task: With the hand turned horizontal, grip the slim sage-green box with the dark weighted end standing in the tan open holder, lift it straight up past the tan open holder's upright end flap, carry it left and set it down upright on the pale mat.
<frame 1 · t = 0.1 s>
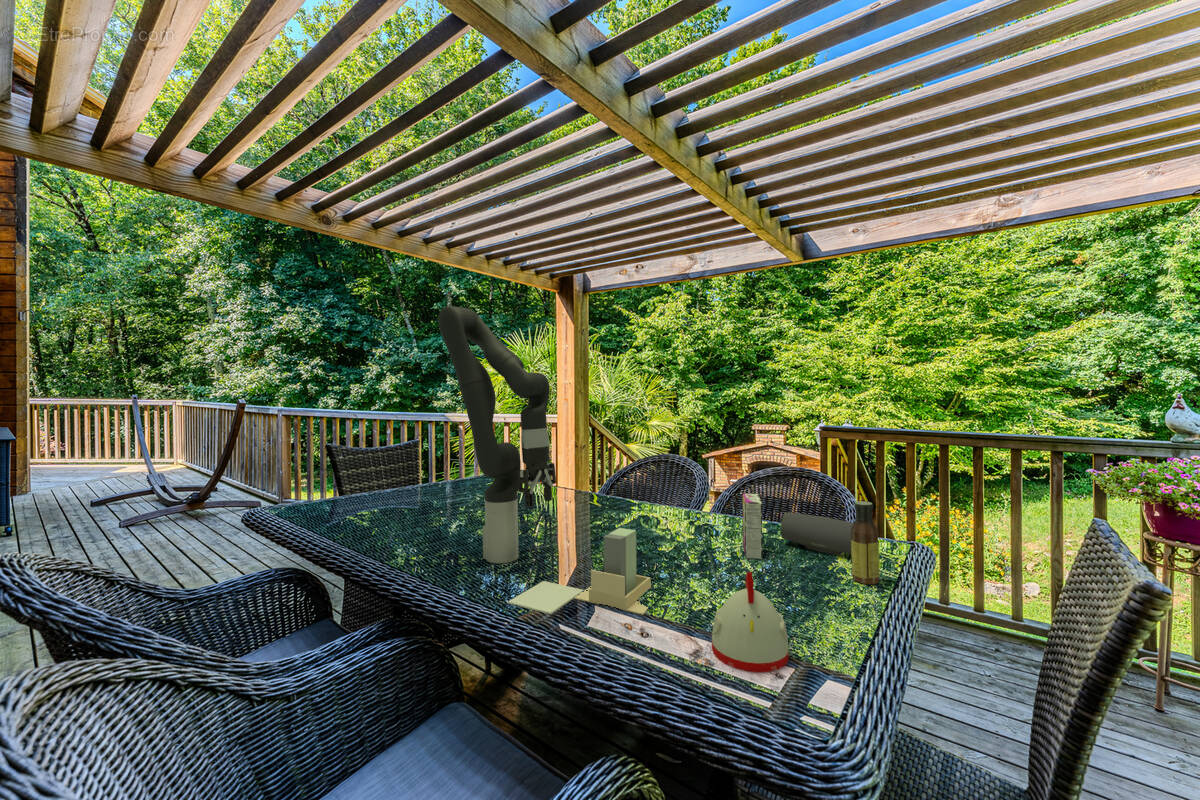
hand: (539, 504, 145), 17 cm above the table, tool pointing down, fingers open, 8 cm apart
tan open holder: (620, 595, 125), on the table
candy bar box: (751, 553, 154), on the table
slim sage box: (620, 595, 125), resting in tan open holder
bluetooth speaker: (823, 551, 156), on the table
sauce bottle: (864, 581, 133), on the table
mat: (546, 597, 125), on the table
kitchen timer: (749, 653, 99), on the table
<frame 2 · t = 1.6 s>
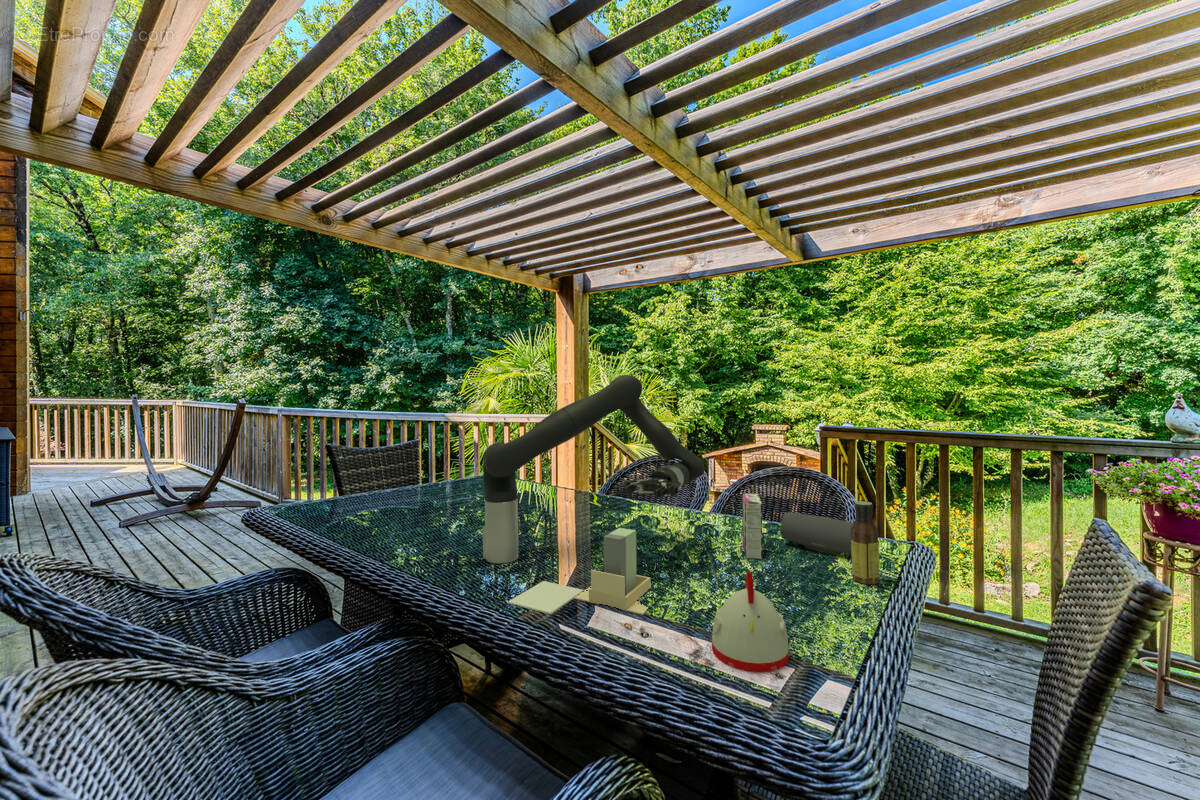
hand: (641, 492, 134), 22 cm above the table, tool horizontal, fingers open, 8 cm apart
nothing on the table moved.
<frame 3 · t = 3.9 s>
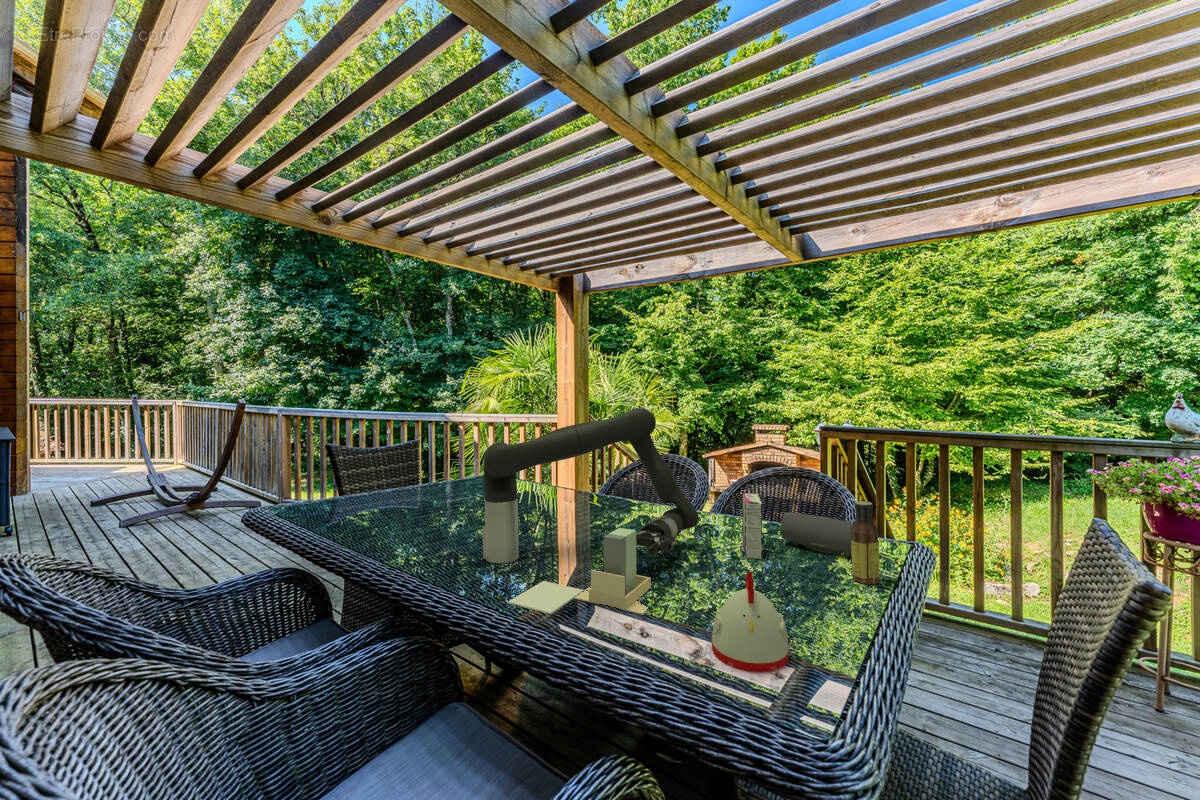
hand: (634, 549, 131), 9 cm above the table, tool horizontal, fingers open, 8 cm apart
nothing on the table moved.
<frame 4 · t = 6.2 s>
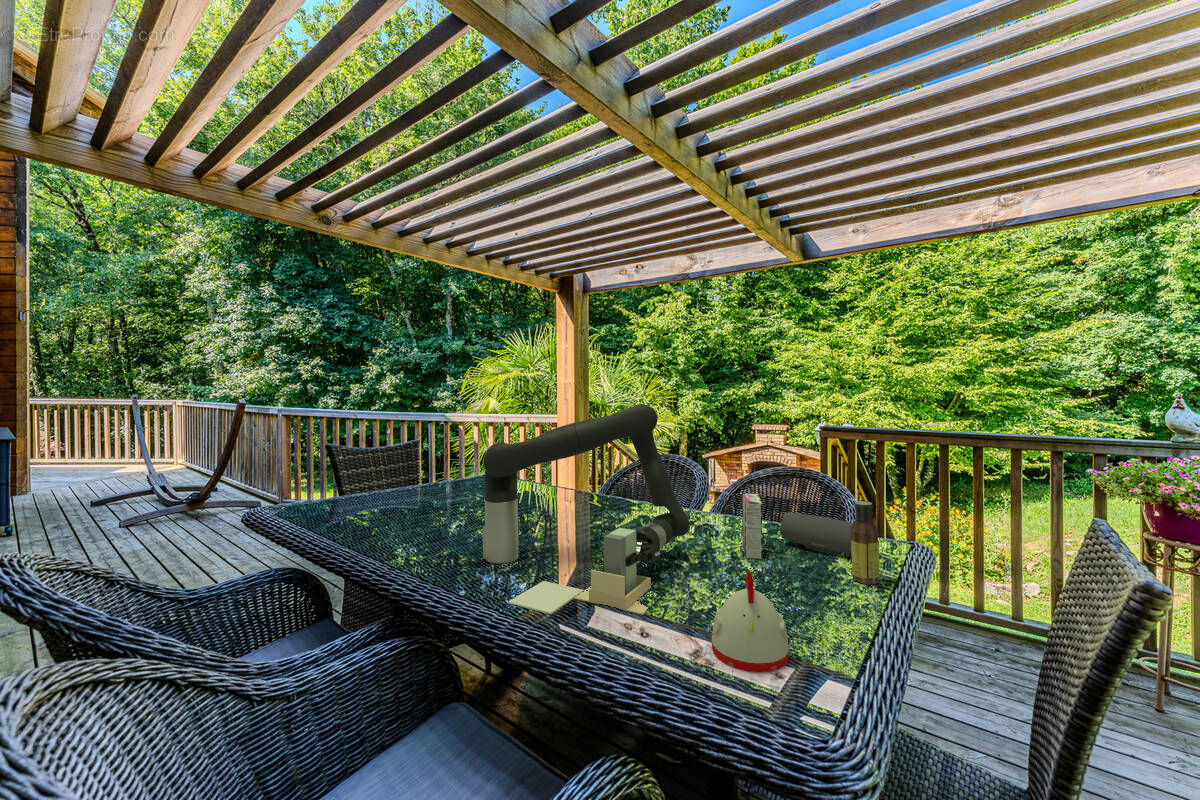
hand: (617, 560, 123), 9 cm above the table, tool horizontal, fingers closed on slim sage box, 4 cm apart
slim sage box: (620, 595, 125), resting in tan open holder, touching gripper
everything else where it was.
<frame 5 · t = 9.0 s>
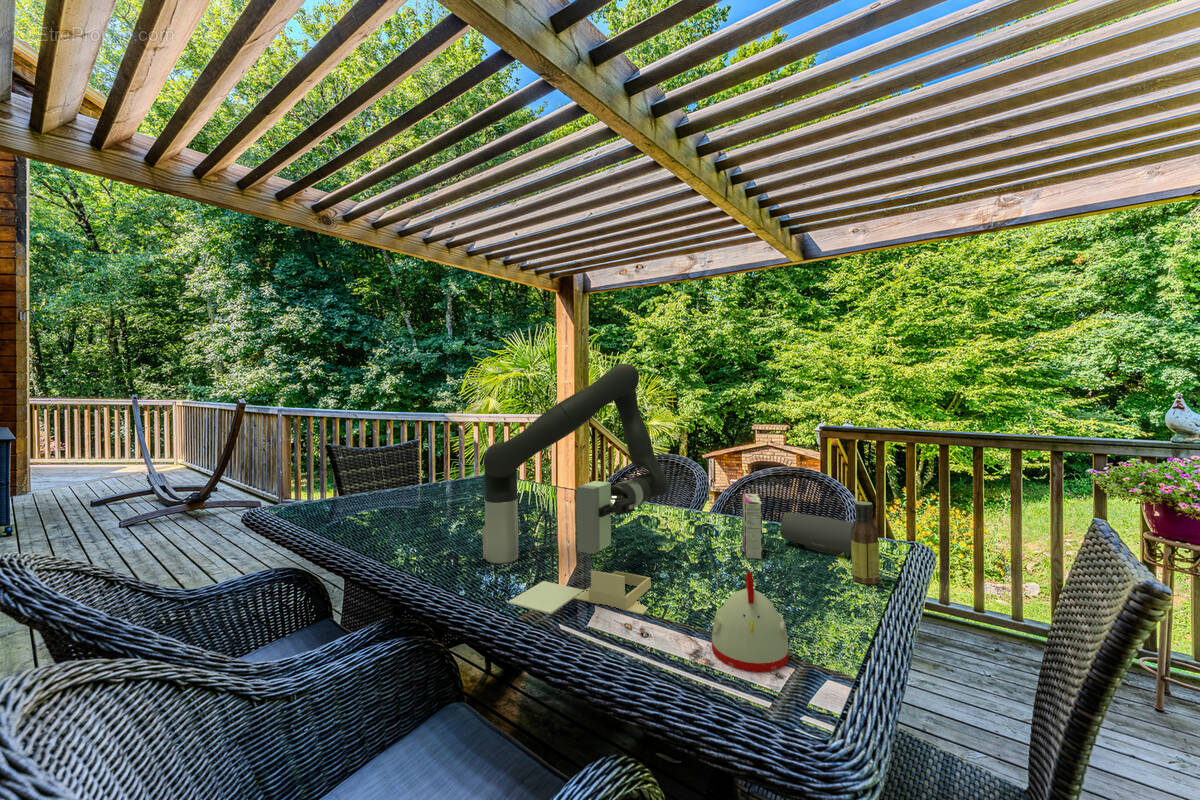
hand: (590, 511, 123), 21 cm above the table, tool horizontal, fingers closed on slim sage box, 4 cm apart
slim sage box: (594, 547, 125), point 12 cm above the table, touching gripper
everything else where it was.
when the fingers open (10 cm above the table, at t = 12.2 s): slim sage box stays where it is, resting on mat.
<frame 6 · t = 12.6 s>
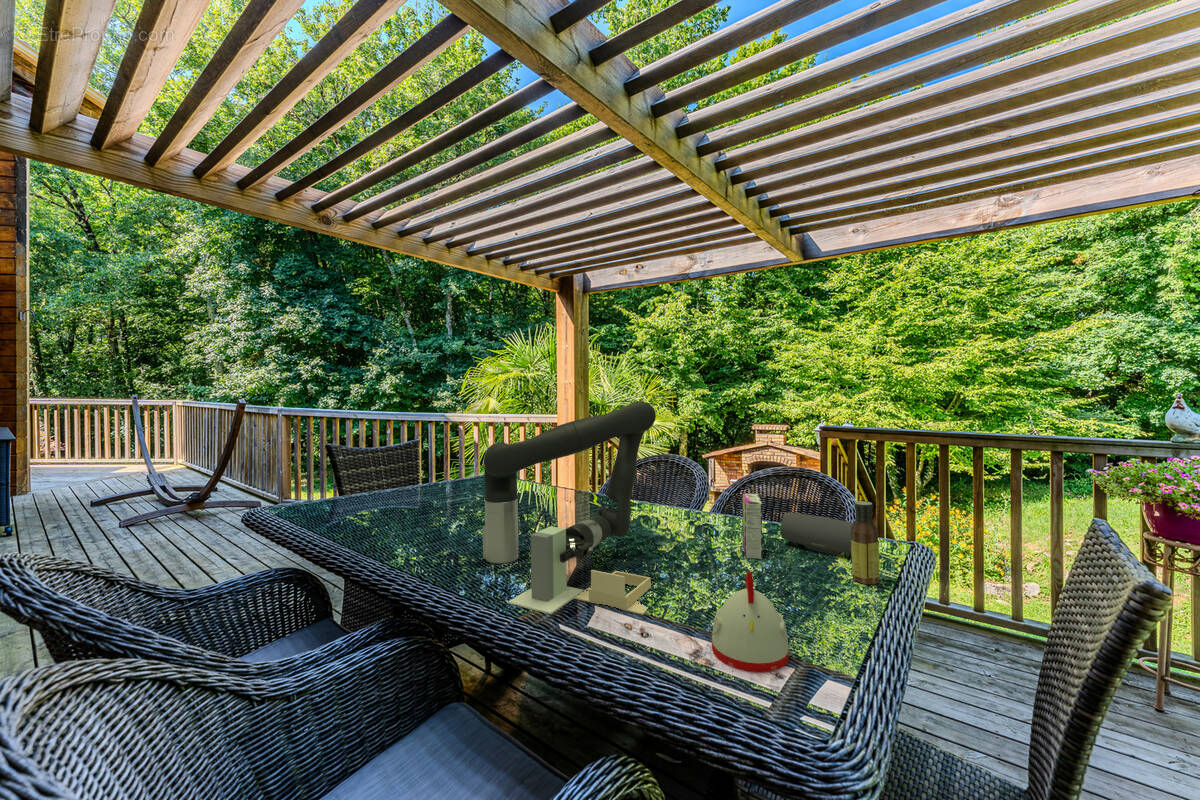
hand: (546, 555, 124), 10 cm above the table, tool horizontal, fingers open, 8 cm apart
slim sage box: (549, 593, 126), resting on mat
everything else where it was.
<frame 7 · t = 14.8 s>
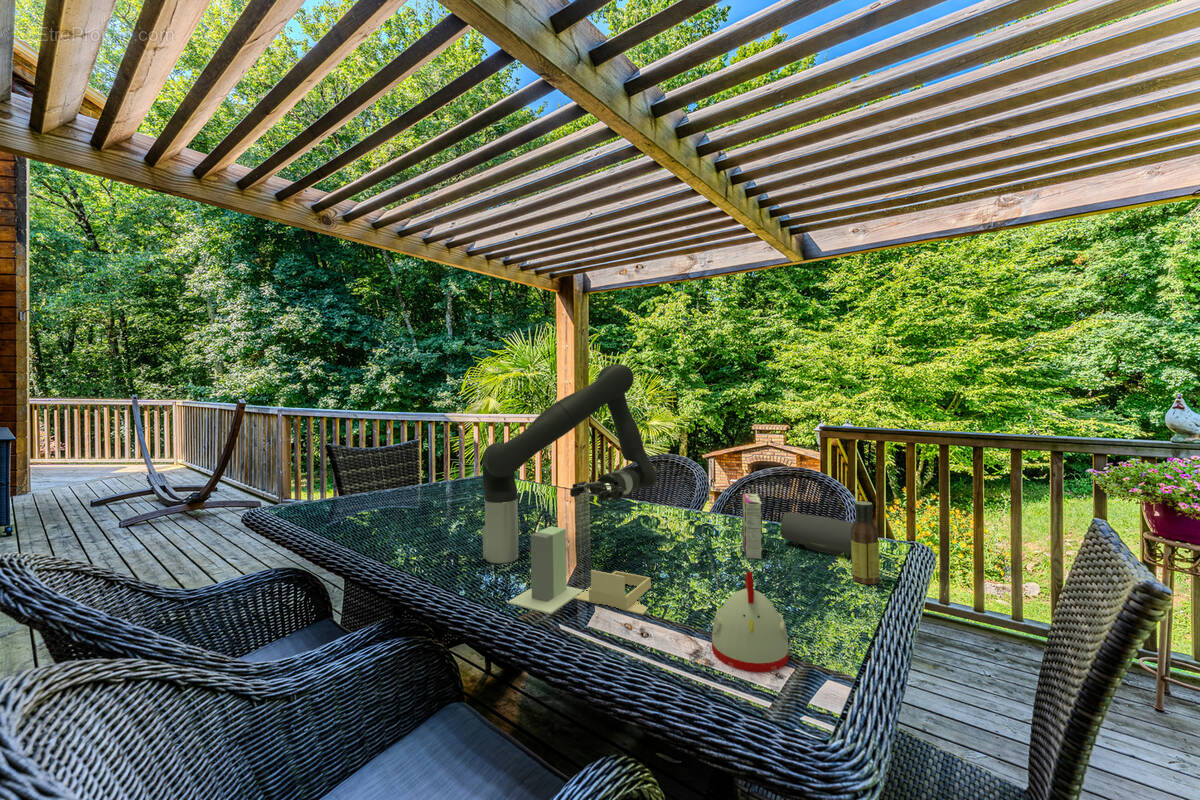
hand: (585, 495, 137), 21 cm above the table, tool horizontal, fingers open, 8 cm apart
nothing on the table moved.
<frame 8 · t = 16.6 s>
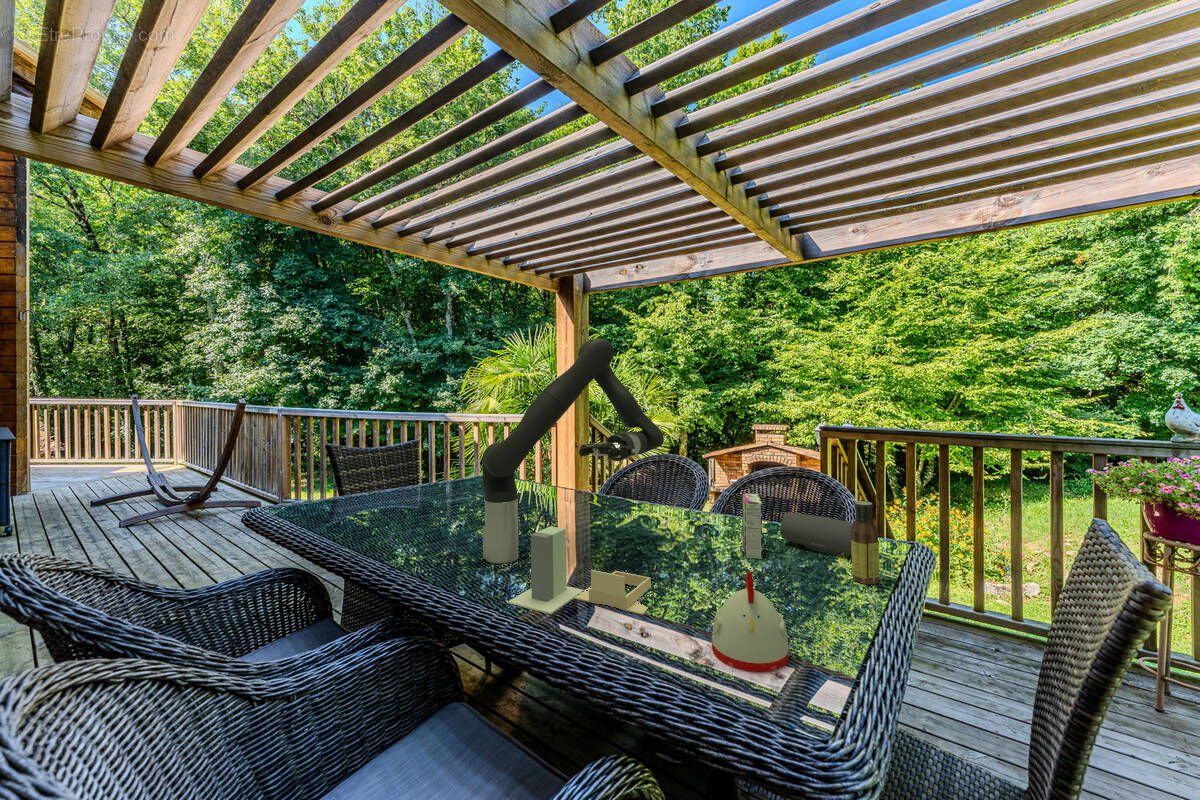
hand: (594, 453, 138), 32 cm above the table, tool horizontal, fingers open, 8 cm apart
nothing on the table moved.
at the end: slim sage box inside the target area on the mat (1.1 cm from its centre), point 0.4 cm above the mat's base; slim sage box tilted 0°; the gripper is holding nothing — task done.
